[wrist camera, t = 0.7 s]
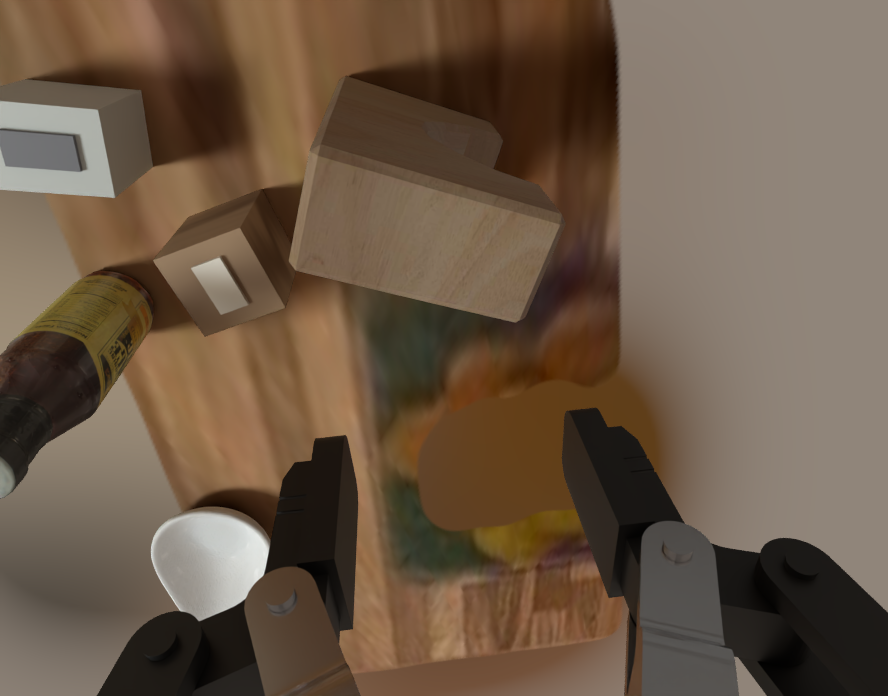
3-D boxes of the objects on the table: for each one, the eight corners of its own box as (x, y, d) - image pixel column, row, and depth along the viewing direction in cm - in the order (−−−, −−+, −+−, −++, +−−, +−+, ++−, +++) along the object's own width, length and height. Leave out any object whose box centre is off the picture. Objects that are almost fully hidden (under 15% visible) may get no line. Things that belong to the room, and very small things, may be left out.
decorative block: (494, 123, 41) (573, 219, 24) (468, 197, 44) (521, 331, 27) (341, 70, 39) (311, 138, 22) (323, 153, 41) (283, 271, 24)
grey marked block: (25, 79, 37) (-44, 98, 31) (141, 90, 38) (95, 110, 32) (45, 158, 40) (-16, 190, 34) (153, 166, 41) (112, 199, 35)
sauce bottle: (138, 348, 48) (9, 542, 32) (61, 308, 46) (-124, 495, 29) (175, 292, 46) (58, 470, 29) (96, 246, 43) (-82, 412, 27)
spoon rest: (149, 490, 57) (122, 550, 51) (271, 484, 58) (258, 543, 52) (198, 631, 70) (180, 692, 64) (297, 624, 71) (289, 683, 65)
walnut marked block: (188, 216, 43) (151, 262, 36) (262, 188, 42) (238, 229, 35) (230, 284, 46) (203, 338, 39) (299, 259, 45) (284, 309, 39)
